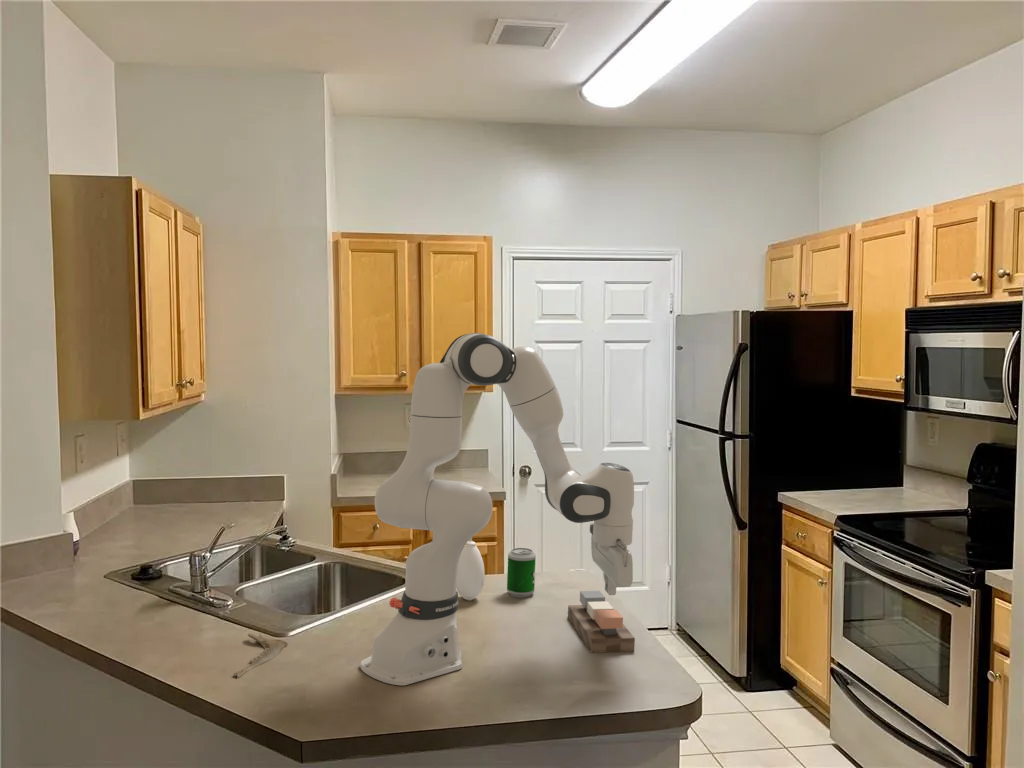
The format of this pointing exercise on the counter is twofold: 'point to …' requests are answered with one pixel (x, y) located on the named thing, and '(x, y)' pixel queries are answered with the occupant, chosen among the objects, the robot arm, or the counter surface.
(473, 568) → the sauce bottle
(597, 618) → the terracotta key
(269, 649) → the jawbone
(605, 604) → the ivory key
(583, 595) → the slate key
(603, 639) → the keypad board
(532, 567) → the soda can
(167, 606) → the counter surface
